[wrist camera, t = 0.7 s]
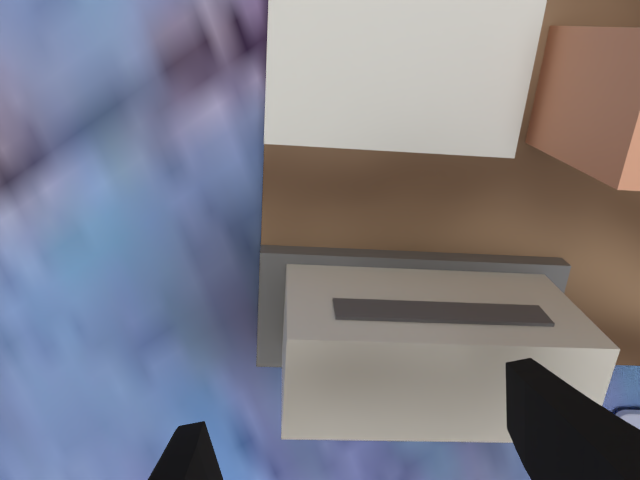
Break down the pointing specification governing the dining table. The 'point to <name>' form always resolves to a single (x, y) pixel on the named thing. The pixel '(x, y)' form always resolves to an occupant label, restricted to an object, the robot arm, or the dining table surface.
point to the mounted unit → (416, 340)
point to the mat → (400, 74)
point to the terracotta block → (590, 102)
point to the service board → (474, 202)
